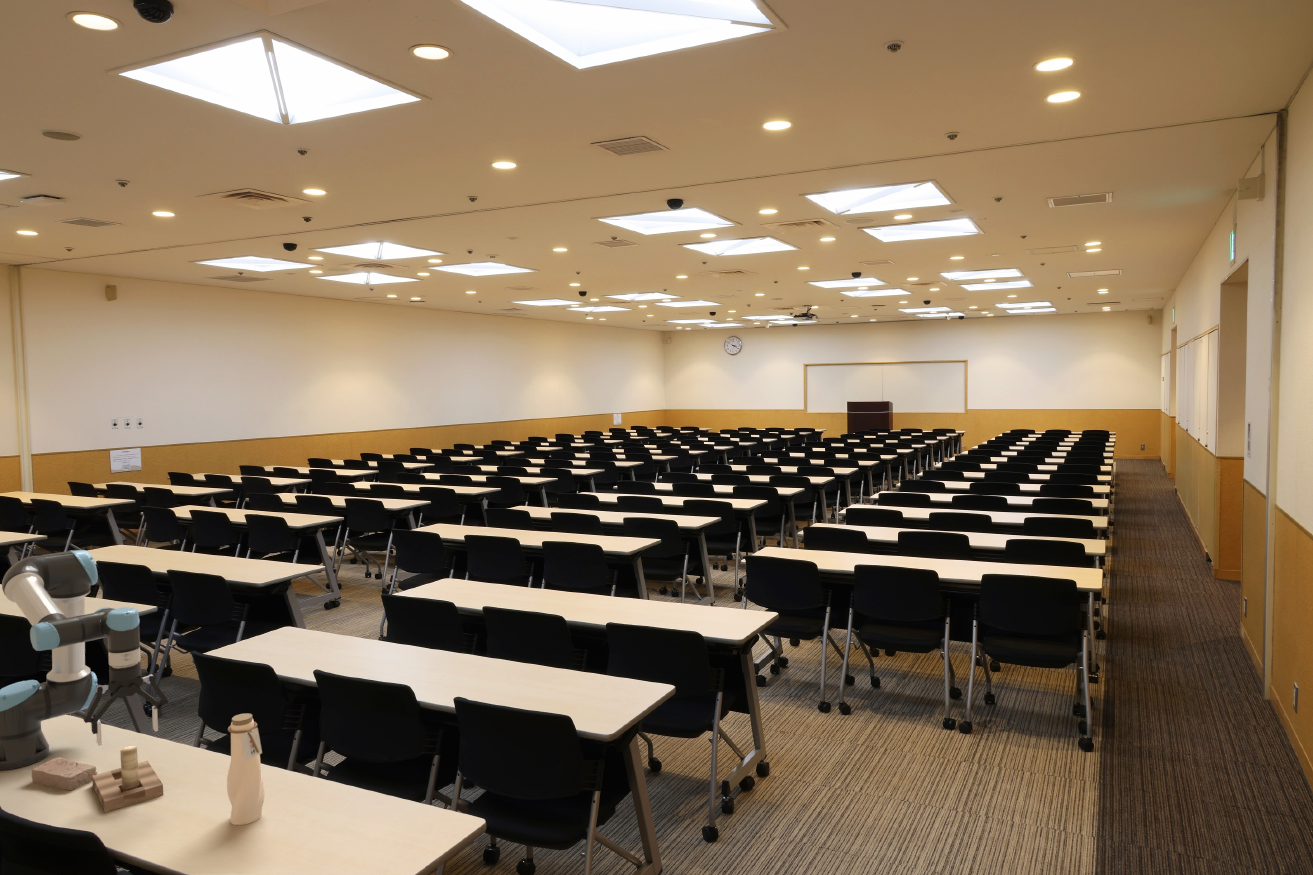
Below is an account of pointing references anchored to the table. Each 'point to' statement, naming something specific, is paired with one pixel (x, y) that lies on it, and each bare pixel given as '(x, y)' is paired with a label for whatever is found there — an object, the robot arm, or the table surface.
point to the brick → (63, 774)
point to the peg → (129, 768)
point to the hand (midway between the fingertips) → (127, 736)
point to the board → (115, 797)
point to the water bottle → (245, 771)
